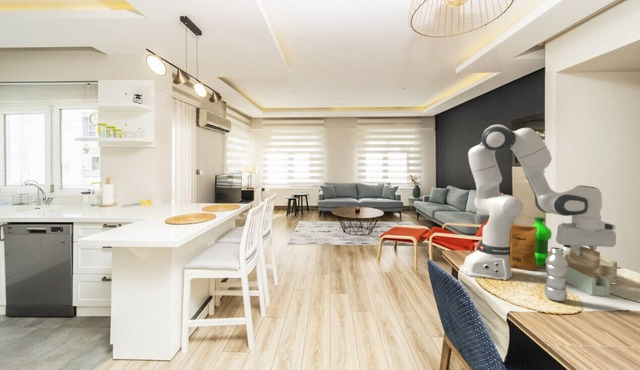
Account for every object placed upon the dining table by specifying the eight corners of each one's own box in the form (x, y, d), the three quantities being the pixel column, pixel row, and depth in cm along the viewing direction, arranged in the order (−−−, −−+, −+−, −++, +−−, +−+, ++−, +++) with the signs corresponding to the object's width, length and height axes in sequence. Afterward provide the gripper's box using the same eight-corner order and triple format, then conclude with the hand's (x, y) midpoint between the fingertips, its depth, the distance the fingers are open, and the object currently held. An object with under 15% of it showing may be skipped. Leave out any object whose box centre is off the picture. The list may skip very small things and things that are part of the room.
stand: (591, 295, 107) (592, 278, 106) (560, 278, 124) (561, 264, 123) (608, 296, 106) (609, 279, 106) (575, 279, 123) (576, 264, 122)
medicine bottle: (583, 265, 142) (584, 242, 141) (569, 265, 142) (570, 242, 141) (570, 260, 149) (571, 239, 148) (557, 260, 149) (558, 239, 148)
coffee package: (507, 261, 147) (509, 222, 146) (536, 266, 139) (538, 225, 138) (505, 266, 140) (506, 224, 139) (535, 272, 131) (537, 228, 130)
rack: (589, 283, 119) (591, 260, 118) (560, 268, 136) (561, 249, 136) (615, 284, 117) (617, 262, 117) (582, 269, 135) (583, 250, 134)
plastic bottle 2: (562, 305, 99) (564, 252, 98) (540, 297, 105) (542, 247, 104) (570, 301, 102) (572, 249, 101) (548, 294, 108) (550, 245, 107)
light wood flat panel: (591, 288, 109) (593, 252, 108) (569, 276, 121) (570, 244, 120) (598, 288, 109) (600, 252, 108) (575, 277, 120) (576, 244, 120)
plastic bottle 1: (530, 259, 151) (532, 215, 150) (553, 264, 142) (555, 218, 141) (522, 262, 146) (523, 217, 145) (546, 268, 137) (548, 219, 136)
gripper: (563, 224, 112) (562, 256, 113) (620, 226, 109) (618, 259, 109) (553, 221, 118) (551, 252, 119) (606, 223, 115) (604, 254, 116)
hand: (584, 255), depth 114 cm, fingers closed on light wood flat panel, 2 cm apart
